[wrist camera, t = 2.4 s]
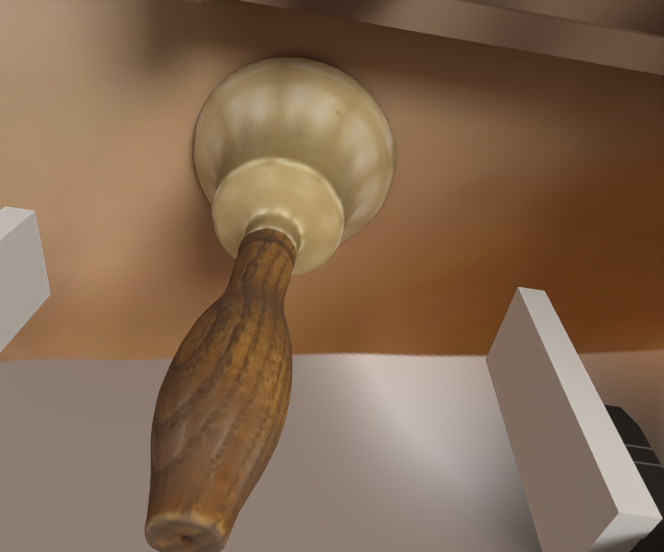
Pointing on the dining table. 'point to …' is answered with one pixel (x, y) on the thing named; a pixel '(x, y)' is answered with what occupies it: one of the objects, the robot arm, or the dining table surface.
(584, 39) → the tray
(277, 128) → the hand bell
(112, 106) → the dining table surface
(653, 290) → the dining table surface
